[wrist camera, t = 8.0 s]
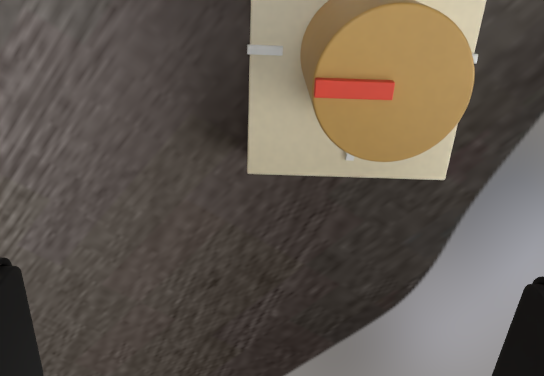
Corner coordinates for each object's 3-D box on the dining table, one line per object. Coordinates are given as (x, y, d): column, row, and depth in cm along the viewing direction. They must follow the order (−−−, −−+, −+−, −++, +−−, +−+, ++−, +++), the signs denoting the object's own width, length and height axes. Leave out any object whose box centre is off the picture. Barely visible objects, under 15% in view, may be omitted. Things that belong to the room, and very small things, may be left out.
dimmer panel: (430, 158, 24) (448, 182, 22) (245, 152, 24) (244, 175, 22) (484, -96, 19) (515, -101, 17) (251, -109, 19) (250, -115, 17)
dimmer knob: (437, -12, 18) (498, 7, 14) (414, 116, 21) (459, 169, 16) (304, -17, 18) (320, -1, 13) (296, 112, 20) (307, 165, 16)
